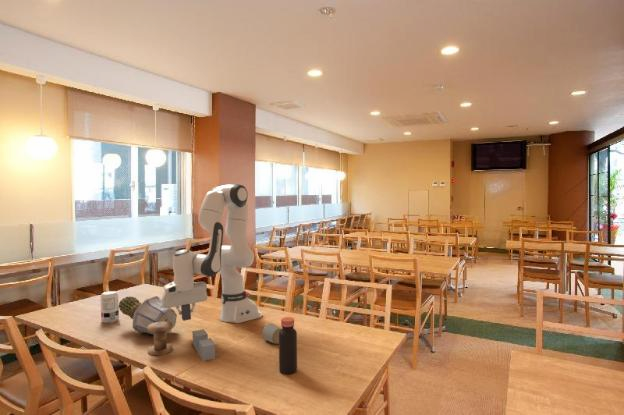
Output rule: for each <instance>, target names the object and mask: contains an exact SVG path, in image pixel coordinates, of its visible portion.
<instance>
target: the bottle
mask: <svg viewBox="0 0 624 415" xmlns="http://www.w3.org/2000/svg"><path fill="white" fill-rule="evenodd" d="M280 324H281V325H280V326H281V330H280V332H279V344H278V356H279V358H278V362H279V363H278V366H279V367H278V369H279V372H280V373H281V374H283V375H292V374H295V373H296V372H297V371H298V342H297V341H298V338H297V336H298V333H297V330H296V329H295V328H294V326H295V317H290V316H285V317H282V318H281V320H280Z"/></svg>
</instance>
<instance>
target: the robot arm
mask: <svg viewBox="0 0 624 415" xmlns="http://www.w3.org/2000/svg"><path fill="white" fill-rule="evenodd" d="M248 196H249V194H248V190H247V188H246V186H244V185H243V184H239V183H235V184H234V183H231V184H230V183H229V184H228V183H227V184H224V185H223V184H221V185H217V186H214V187H213V188H212V189H211V190H210V191H208V192H207V193H206V194H205V196H204V198H203V200H202V203H201V206H200V209H199V213H198V218H197V219H198V224H199V225H200V227H201V228H202V229H203V230H205V231H207V233H209V235H210V236H209V237H210V240H209V247H208V248H209V249H208V253H207V254H205V253H204V254H203V253H198V252H193V251H192V250H190V249H187V248H185V249H184V248H183V249H179V250H177V251H175V253H173V256H172V271H173V274H174V275H173V281H172V282H169V283H167V284H165V285H164V286H163V292H162V296H161V300H162V306H163V307H164V308H165V309H166V308H171V309H172V308H176V310H177V312H178V315H179V316H182V314H183V313H182V310H181V305H186V304H190V305H191V306H190V311H191V314H192V313H194V309H195V306H196V304H197V303H201V302H207V300H208V292H207V288H208V284H207V283H206V282H205V281H198V282H197V281H196V282H195V281H194V280H195V276H194V274H197V275H200V276H201V275H203V276H206V277H209V278H212V277H215V276H216V275H217V274H218V273H219V274H220V277H221V285H222V286H221V287H222V292H221V303H222V304H221V312H220V316H219V320H220V321H222V322H224V323H235V324H240V323H243V322H248V321H253V320H256V319H258V318H262V317H263V312H261V311H260V310H259V308H258V305H257V303H256V302H255V301H253V300H252V299H250V298H249V297H250V295H251V293H250V292H249V291H248V292H247V291H246V290H245V289H244V276H243V275H242V274H241V273H240V272H239V271H238V269H237V268H248V267H251V265H252V264H253V263H254V260H255V253H254V251H253V250H252V249H251V248H250V246H249V244H248V241H247V228H248V227H247V226H248V219H249V218H248V217H249V208H248V204H247V201H248ZM225 206H227V209H228V211H227V216H226V221H225V222H226V223H225V231H224V226H223V224H222V217H223V212H224V207H225ZM224 233H225V235H226V237H227V238H229V240H230V245H228V244H223V241H224Z"/></svg>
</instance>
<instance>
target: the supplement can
mask: <svg viewBox="0 0 624 415" xmlns="http://www.w3.org/2000/svg"><path fill="white" fill-rule="evenodd" d="M119 312H120V309H119V293H118V292H117V291H116V290H109V291H104V292H102V293H101V295H100V318H101V322H102V323H103V324H112V323H115V322H117V321H118V320H119V318H120V313H119Z"/></svg>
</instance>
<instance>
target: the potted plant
mask: <svg viewBox="0 0 624 415" xmlns="http://www.w3.org/2000/svg"><path fill="white" fill-rule="evenodd" d="M118 305H119V311H120V312H121V313H122V315H126V316H127V317H129V318H130V320H132V324H131V325H132V329H133V330H134V331H135V332H137V334H144V333H147V334H149V335H153V336H154V332H150V331H148V330H147V326H148V325H150V324H152V323H155V322H161V321H167V322H171V323H172V328H170V329H169V330H166V336H167V335H168V334H169V333H170V332H172V329H173V328H174V327H175V326H176V324H177V317H178V313H176V312H175V310H174V309H173V308H172V307H171V308H166V309H165V308H164V307H163V306H162V298H160V296H157V295H156V296H152V297H149V298H147V299H144V300H143V302H140V300H139V299H137V297H134V296H125V297H124V298H122V299H120V300H119V301H118Z"/></svg>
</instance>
